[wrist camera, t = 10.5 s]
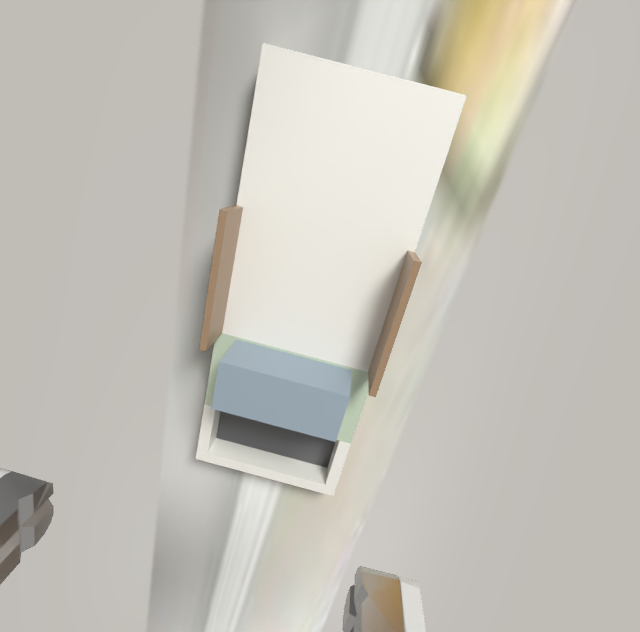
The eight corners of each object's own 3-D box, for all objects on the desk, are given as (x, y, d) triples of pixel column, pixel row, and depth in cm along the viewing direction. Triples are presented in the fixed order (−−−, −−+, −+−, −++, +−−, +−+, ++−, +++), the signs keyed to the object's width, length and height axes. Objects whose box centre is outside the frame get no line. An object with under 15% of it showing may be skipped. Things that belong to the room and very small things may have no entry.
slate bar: (236, 339, 31) (219, 361, 28) (351, 369, 31) (350, 396, 28) (228, 382, 33) (211, 408, 29) (338, 411, 33) (335, 441, 29)
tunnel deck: (271, 54, 27) (247, 22, 21) (457, 102, 27) (483, 82, 21) (205, 441, 38) (178, 487, 33) (335, 476, 38) (330, 528, 32)
